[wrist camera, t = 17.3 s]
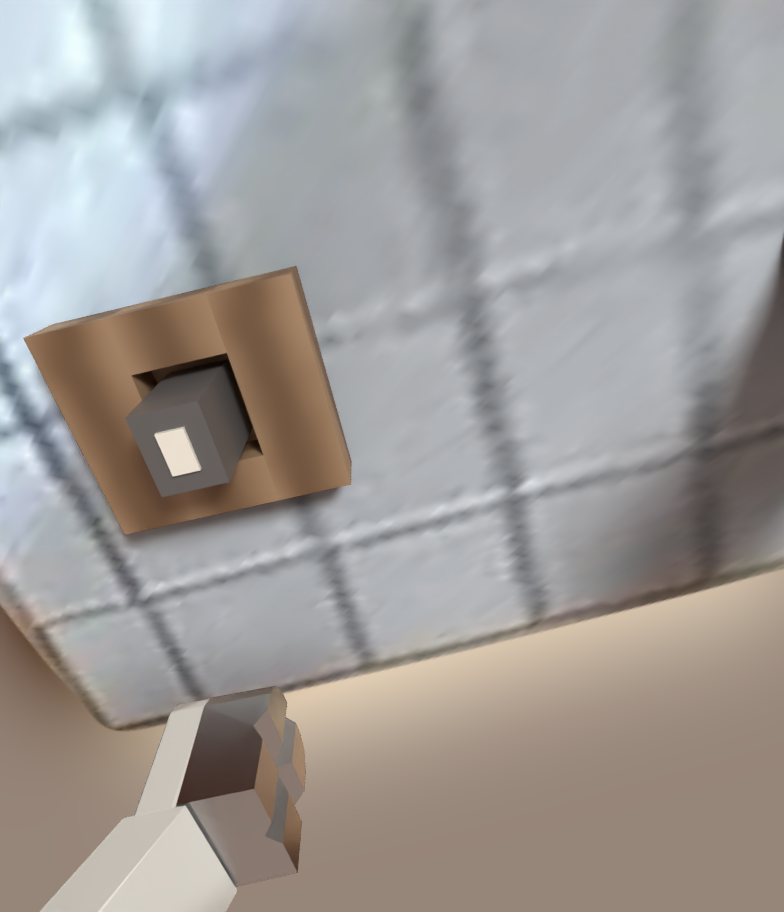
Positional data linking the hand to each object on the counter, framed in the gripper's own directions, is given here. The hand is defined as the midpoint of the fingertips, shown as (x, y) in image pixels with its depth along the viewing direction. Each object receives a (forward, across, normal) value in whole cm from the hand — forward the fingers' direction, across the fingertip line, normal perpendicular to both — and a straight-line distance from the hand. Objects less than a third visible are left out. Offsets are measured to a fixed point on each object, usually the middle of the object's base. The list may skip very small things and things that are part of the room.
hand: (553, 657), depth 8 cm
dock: (+31, +14, +4) cm, 34 cm away
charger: (+31, +14, +4) cm, 34 cm away
